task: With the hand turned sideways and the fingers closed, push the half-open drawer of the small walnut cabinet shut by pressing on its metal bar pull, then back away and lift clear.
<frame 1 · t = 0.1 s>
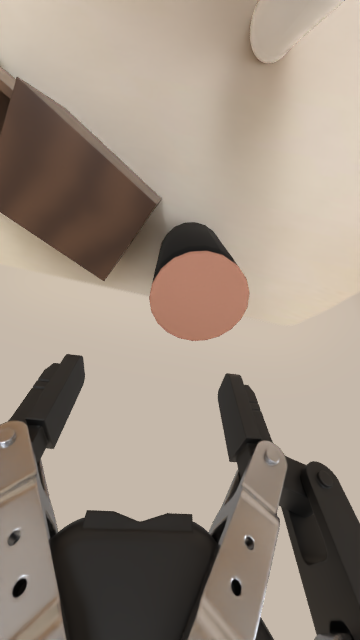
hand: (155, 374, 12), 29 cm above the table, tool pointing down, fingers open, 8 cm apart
cabinet: (96, 196, 32), on the table
coffee jar: (190, 253, 37), on the table
white cup: (271, 30, 23), on the table
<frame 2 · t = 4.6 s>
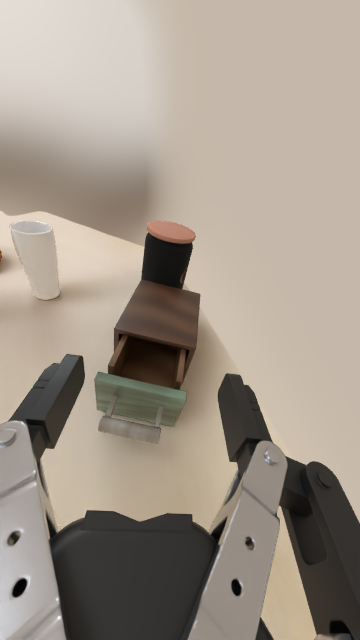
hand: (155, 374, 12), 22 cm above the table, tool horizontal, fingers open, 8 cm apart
cabinet: (157, 344, 43), on the table
coffee jar: (159, 298, 56), on the table
drawer: (146, 374, 32), point 5 cm above the table, slide at 7.0 cm
white cup: (47, 294, 48), on the table
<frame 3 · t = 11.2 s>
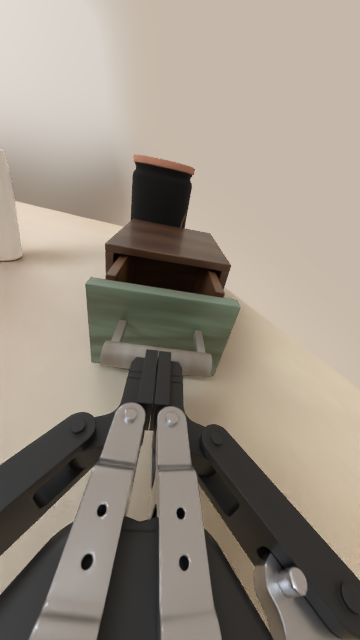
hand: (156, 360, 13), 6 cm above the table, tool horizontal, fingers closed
cabinet: (162, 301, 32), on the table
coffee jar: (153, 263, 46), on the table
drawer: (162, 306, 21), point 5 cm above the table, slide at 5.9 cm, touching gripper
white cup: (4, 257, 35), on the table
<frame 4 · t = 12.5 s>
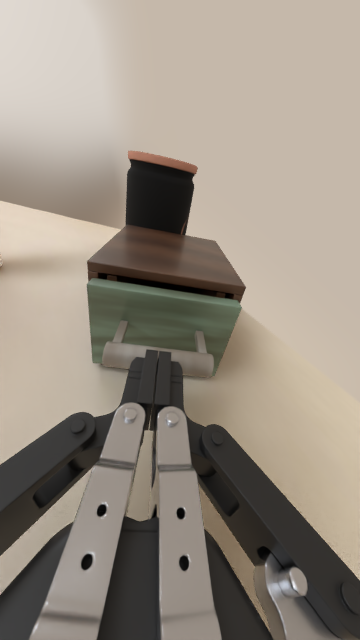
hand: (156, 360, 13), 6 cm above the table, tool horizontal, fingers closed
cabinet: (160, 319, 28), on the table
coffee jar: (151, 271, 42), on the table
drawer: (163, 306, 21), point 5 cm above the table, slide at 0.8 cm, touching gripper
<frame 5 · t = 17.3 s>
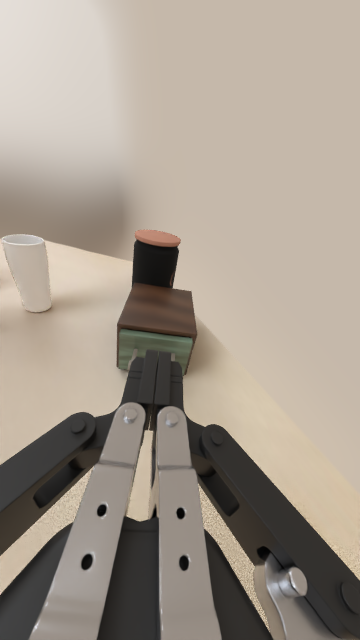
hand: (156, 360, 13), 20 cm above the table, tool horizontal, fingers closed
cabinet: (155, 343, 44), on the table
coffee jar: (150, 303, 58), on the table
drawer: (156, 337, 38), point 5 cm above the table, slide at 0.0 cm, touching cabinet
white cup: (39, 307, 47), on the table
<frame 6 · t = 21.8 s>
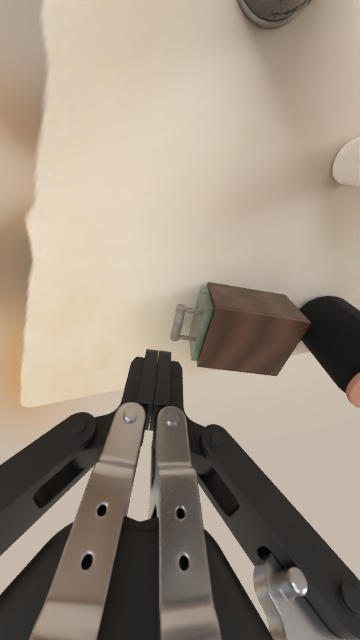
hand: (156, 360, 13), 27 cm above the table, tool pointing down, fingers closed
cabinet: (236, 315, 43), on the table
coffee jar: (317, 315, 44), on the table
drawer: (222, 326, 39), point 5 cm above the table, slide at 0.0 cm, touching cabinet
white cup: (349, 161, 29), on the table
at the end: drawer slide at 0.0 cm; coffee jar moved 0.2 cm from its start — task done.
